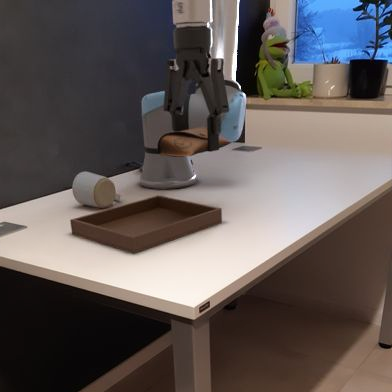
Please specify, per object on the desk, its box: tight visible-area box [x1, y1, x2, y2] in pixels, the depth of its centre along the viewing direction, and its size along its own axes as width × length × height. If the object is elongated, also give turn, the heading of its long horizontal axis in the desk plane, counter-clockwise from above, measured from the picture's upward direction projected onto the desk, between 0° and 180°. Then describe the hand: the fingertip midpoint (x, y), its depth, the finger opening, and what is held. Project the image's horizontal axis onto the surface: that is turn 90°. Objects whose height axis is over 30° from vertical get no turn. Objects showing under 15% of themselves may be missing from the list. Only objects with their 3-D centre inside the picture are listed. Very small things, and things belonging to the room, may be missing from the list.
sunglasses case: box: [157, 125, 233, 157], centre depth 115 cm, size 18×7×7 cm
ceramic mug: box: [71, 171, 121, 209], centre depth 129 cm, size 11×8×8 cm
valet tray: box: [69, 195, 223, 254], centre depth 112 cm, size 20×25×3 cm
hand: (196, 148), depth 115 cm, fingers closed on sunglasses case, 9 cm apart
